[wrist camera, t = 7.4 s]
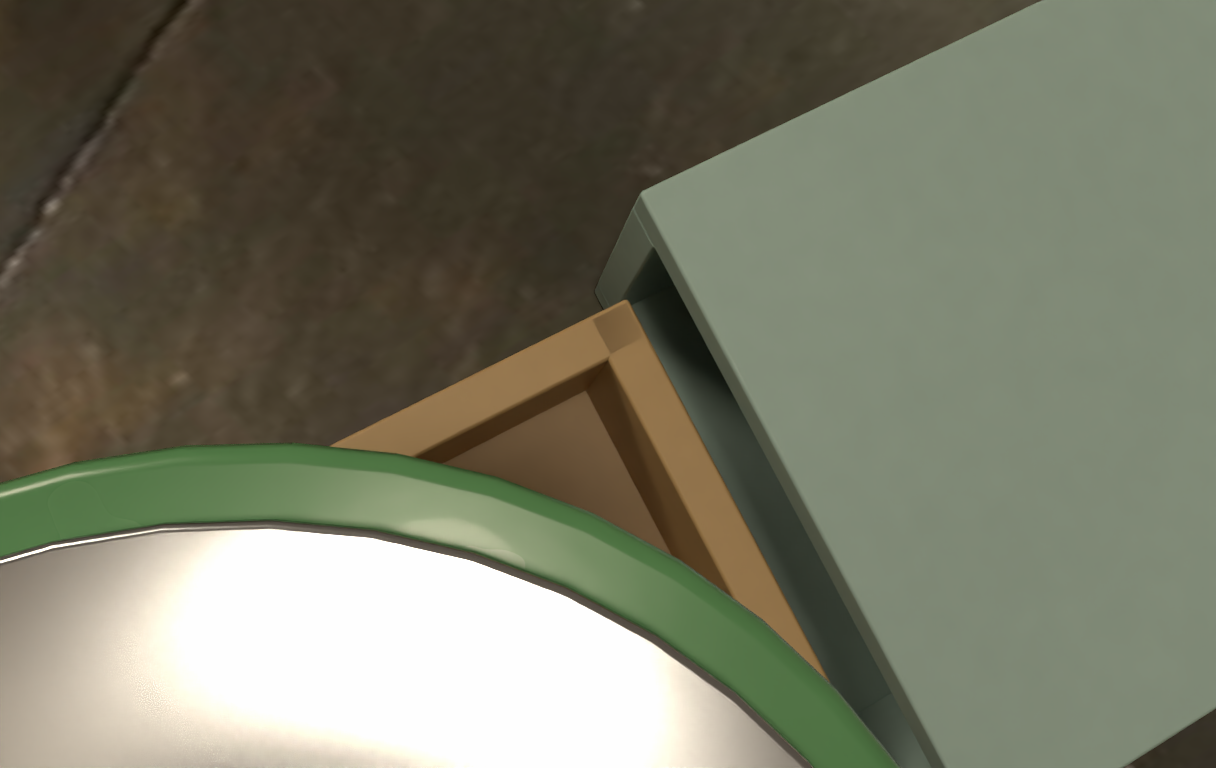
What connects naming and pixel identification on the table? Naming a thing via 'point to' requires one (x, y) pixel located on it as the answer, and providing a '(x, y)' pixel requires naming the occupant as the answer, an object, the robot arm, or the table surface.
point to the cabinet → (972, 379)
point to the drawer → (598, 451)
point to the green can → (375, 626)
